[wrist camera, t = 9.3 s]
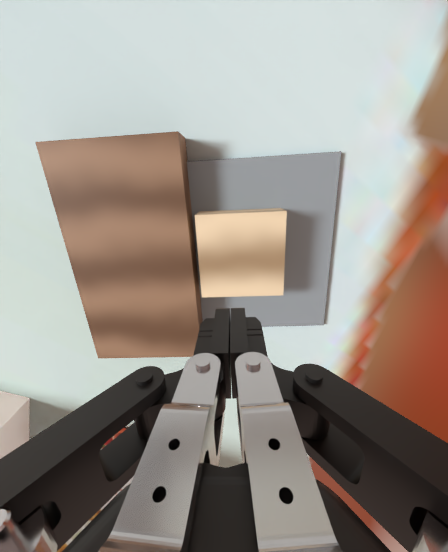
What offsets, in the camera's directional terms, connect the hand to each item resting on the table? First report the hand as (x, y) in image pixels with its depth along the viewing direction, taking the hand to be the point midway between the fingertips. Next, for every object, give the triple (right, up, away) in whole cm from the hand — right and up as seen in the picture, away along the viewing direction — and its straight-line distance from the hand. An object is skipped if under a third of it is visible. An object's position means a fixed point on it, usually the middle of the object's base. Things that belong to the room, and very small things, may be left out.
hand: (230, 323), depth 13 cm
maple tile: (+1, +5, +13) cm, 14 cm away
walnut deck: (-9, +5, +14) cm, 17 cm away
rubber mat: (+3, +5, +13) cm, 14 cm away
